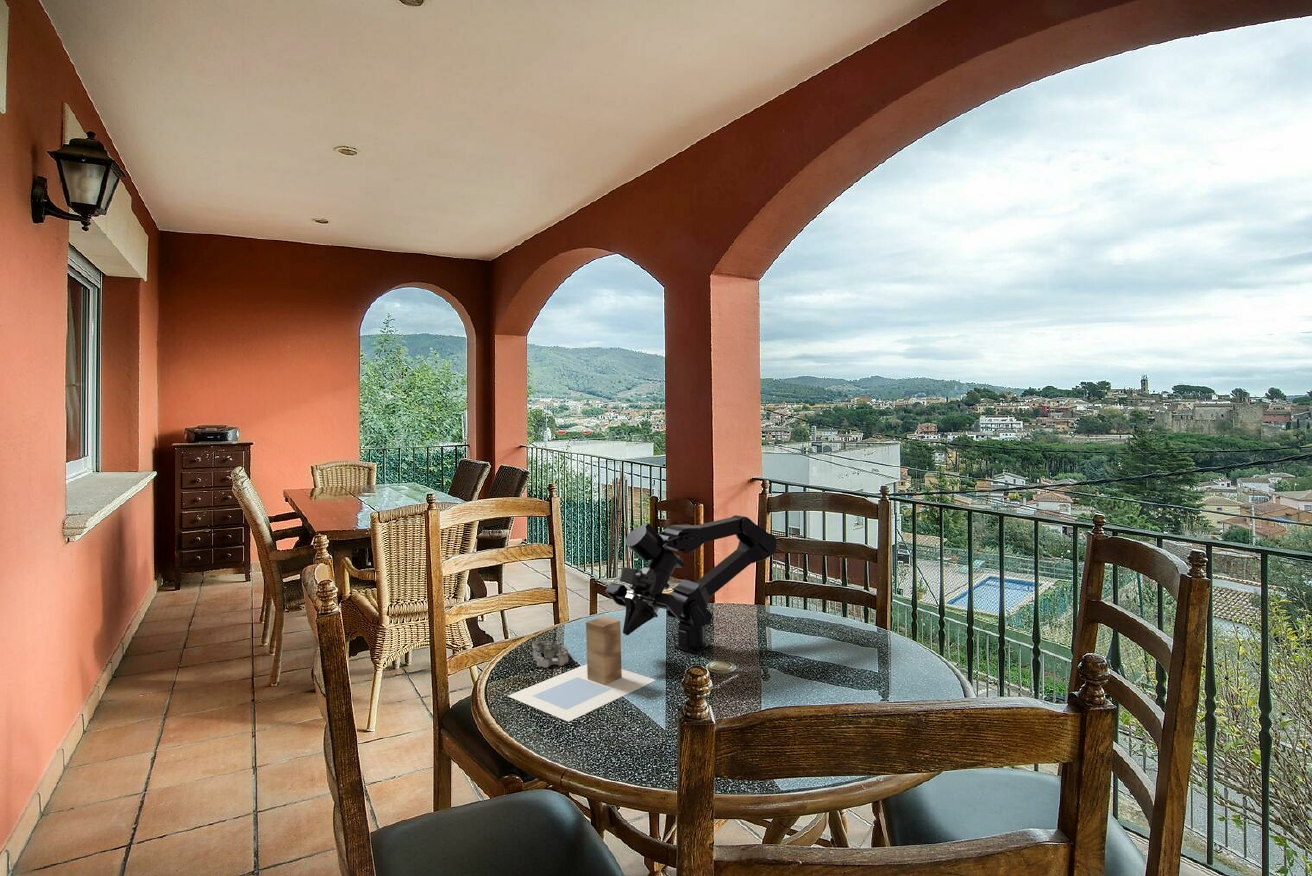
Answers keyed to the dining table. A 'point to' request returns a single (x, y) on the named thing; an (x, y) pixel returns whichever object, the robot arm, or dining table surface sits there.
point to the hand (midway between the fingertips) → (625, 634)
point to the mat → (577, 692)
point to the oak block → (603, 650)
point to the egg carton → (550, 653)
